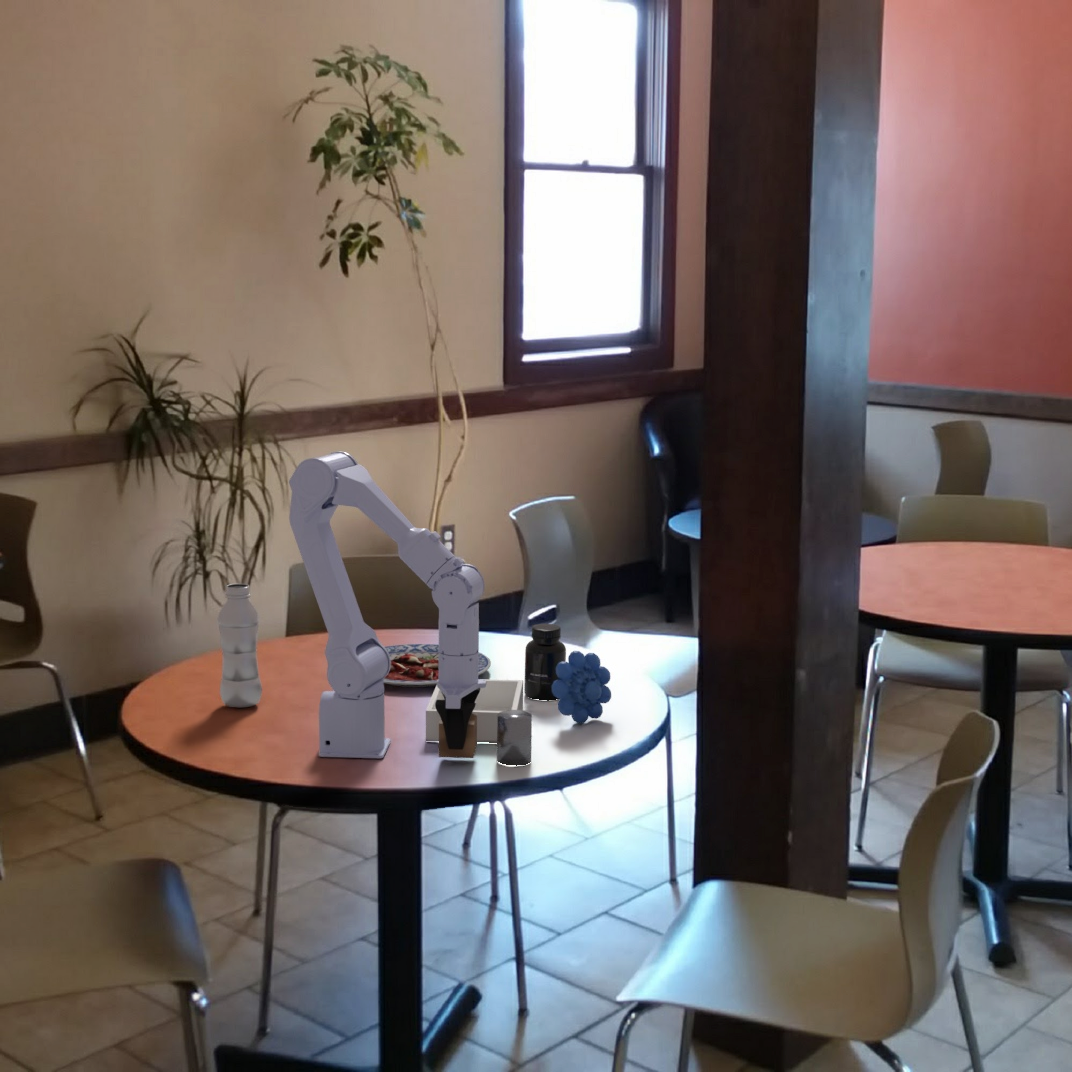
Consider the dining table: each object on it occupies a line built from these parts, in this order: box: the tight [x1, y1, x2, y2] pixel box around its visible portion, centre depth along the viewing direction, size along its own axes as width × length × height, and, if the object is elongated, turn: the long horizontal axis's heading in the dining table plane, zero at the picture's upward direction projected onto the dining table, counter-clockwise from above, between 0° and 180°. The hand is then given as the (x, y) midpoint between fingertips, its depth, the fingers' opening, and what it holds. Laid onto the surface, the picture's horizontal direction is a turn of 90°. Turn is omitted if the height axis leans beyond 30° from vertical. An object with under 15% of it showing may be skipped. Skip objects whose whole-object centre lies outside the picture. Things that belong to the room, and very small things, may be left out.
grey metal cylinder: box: [496, 710, 533, 766], centre depth 204 cm, size 5×5×7 cm
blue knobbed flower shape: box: [552, 650, 612, 724], centre depth 221 cm, size 12×7×12 cm, turn 127°
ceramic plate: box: [383, 643, 492, 688], centre depth 250 cm, size 26×26×3 cm
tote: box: [425, 678, 524, 743], centre depth 220 cm, size 14×18×5 cm
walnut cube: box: [438, 714, 478, 759], centre depth 204 cm, size 5×5×5 cm
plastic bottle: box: [217, 583, 263, 708], centre depth 228 cm, size 6×7×20 cm
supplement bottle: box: [523, 623, 567, 702], centre depth 236 cm, size 7×7×12 cm
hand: (457, 742), depth 204 cm, fingers closed on walnut cube, 5 cm apart
